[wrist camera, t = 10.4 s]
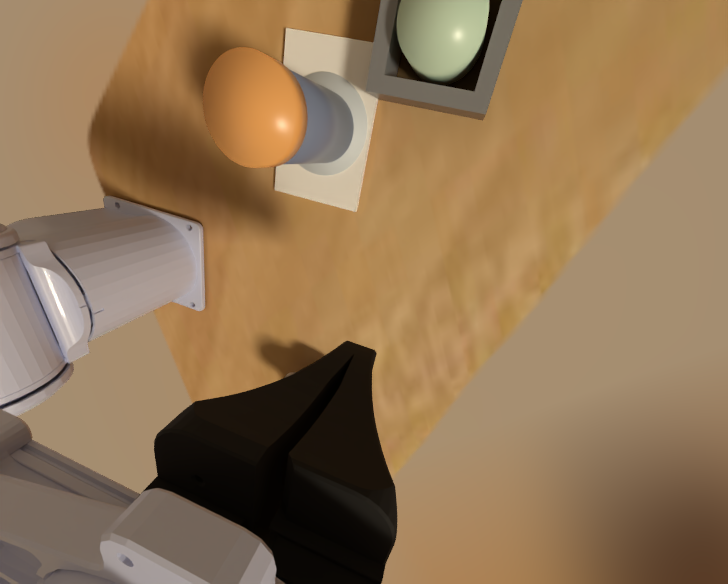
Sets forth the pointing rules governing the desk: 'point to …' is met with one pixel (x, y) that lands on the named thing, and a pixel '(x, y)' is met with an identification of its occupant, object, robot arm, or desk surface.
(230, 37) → the desk surface
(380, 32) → the button housing
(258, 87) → the orange-capped grey cylinder
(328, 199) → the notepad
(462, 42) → the button
